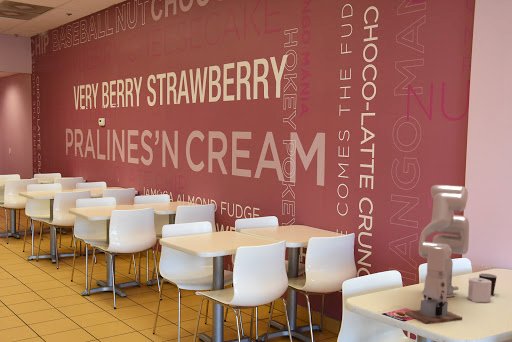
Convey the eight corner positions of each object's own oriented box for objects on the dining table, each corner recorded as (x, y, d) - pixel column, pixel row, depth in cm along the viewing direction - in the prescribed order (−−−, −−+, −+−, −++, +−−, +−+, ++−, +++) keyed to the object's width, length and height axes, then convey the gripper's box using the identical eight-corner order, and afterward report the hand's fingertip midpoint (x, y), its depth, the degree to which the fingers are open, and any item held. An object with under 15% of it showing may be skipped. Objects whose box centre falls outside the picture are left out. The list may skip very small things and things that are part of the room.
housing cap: (437, 311, 241) (438, 298, 241) (447, 315, 235) (447, 302, 235) (420, 313, 237) (420, 300, 237) (429, 317, 232) (429, 304, 231)
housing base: (440, 310, 247) (440, 301, 246) (462, 319, 234) (462, 310, 233) (405, 314, 239) (405, 305, 239) (425, 324, 226) (426, 314, 226)
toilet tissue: (487, 297, 272) (488, 278, 272) (493, 304, 260) (494, 284, 260) (466, 295, 274) (467, 276, 274) (470, 302, 263) (471, 282, 262)
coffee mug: (496, 297, 274) (497, 278, 274) (478, 295, 277) (479, 276, 276) (494, 291, 285) (495, 273, 285) (477, 289, 288) (478, 271, 287)
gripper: (456, 277, 229) (454, 318, 230) (429, 268, 245) (427, 306, 246) (442, 278, 226) (440, 319, 227) (416, 269, 242) (414, 308, 243)
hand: (433, 312), depth 236 cm, fingers closed on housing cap, 5 cm apart
